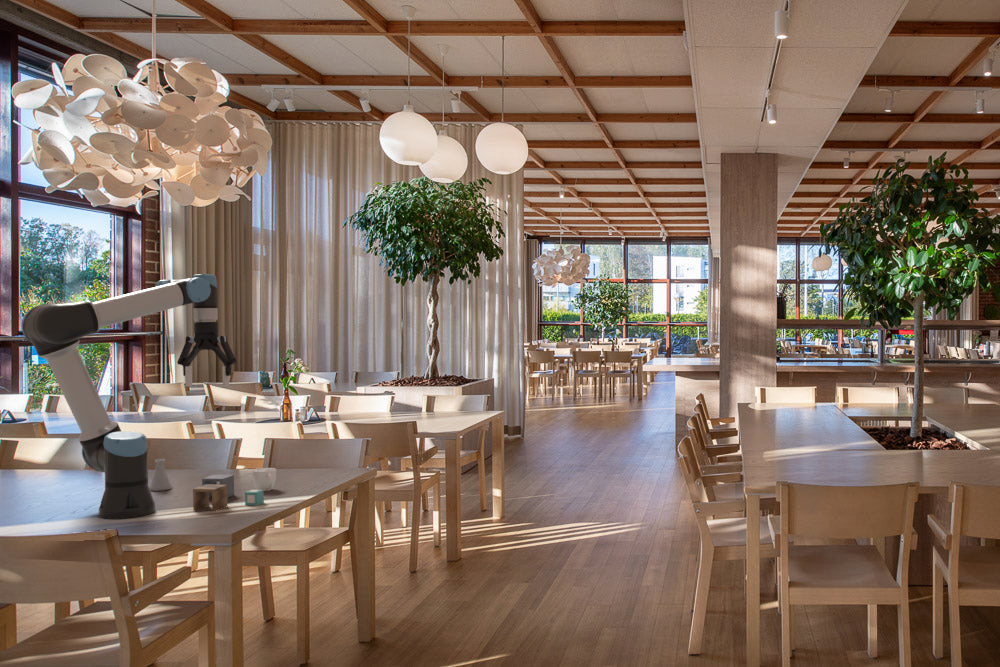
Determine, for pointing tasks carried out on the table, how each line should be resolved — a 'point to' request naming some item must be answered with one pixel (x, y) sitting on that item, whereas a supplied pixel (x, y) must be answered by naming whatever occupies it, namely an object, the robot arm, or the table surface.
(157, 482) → the flask
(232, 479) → the box
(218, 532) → the table surface
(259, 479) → the cup
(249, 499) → the letter cube
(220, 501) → the cover walnut
